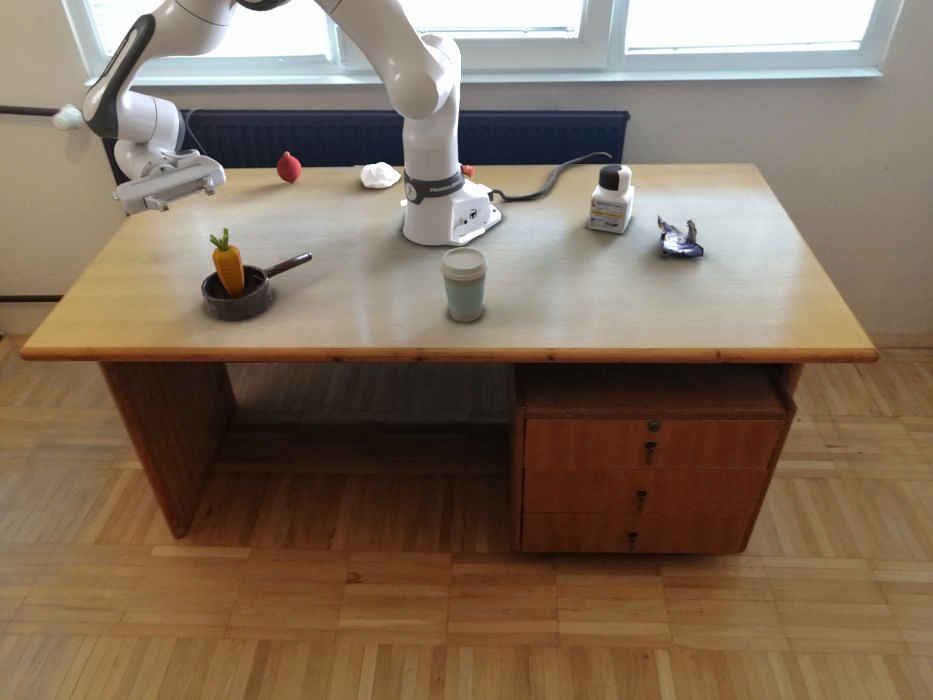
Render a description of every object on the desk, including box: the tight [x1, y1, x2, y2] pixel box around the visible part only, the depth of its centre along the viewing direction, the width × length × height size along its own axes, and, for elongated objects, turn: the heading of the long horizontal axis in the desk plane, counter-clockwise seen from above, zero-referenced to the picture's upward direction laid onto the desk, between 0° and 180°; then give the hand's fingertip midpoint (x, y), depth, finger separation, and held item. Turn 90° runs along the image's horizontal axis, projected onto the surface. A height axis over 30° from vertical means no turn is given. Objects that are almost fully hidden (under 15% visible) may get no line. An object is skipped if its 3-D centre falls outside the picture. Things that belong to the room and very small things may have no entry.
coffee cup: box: [439, 246, 489, 323], centre depth 130 cm, size 9×8×12 cm
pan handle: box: [259, 251, 313, 280], centre depth 142 cm, size 11×2×2 cm, turn 130°
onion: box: [276, 151, 302, 184], centre depth 175 cm, size 6×6×8 cm
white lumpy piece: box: [360, 161, 401, 189], centre depth 176 cm, size 10×4×10 cm
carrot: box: [209, 227, 244, 299], centre depth 133 cm, size 5×5×15 cm
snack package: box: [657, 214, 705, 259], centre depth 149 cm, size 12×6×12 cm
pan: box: [200, 264, 273, 322], centre depth 137 cm, size 12×12×4 cm
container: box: [588, 163, 635, 235], centre depth 154 cm, size 8×8×13 cm
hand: (188, 199), depth 136 cm, fingers open, 8 cm apart
